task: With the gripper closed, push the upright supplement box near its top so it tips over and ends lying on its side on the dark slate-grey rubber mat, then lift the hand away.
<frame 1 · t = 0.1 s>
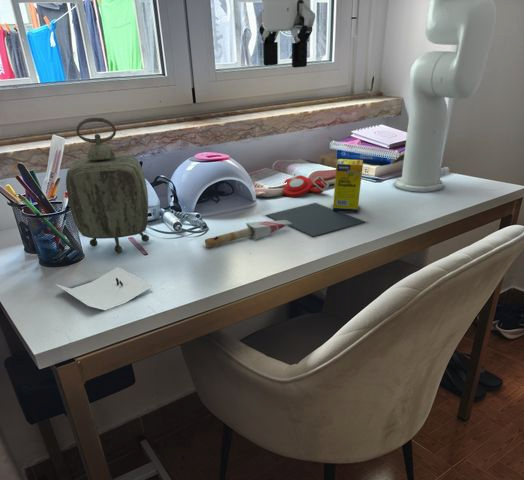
hand: (284, 66, 99), 31 cm above the table, tool pointing down, fingers open, 9 cm apart
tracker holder: (303, 194, 134), on the table
supplement box: (345, 209, 121), on the table, touching mat
mat: (314, 219, 116), on the table
paintbrush: (249, 238, 107), on the table
tabletop clock: (119, 250, 103), on the table
folded paper: (105, 293, 87), on the table
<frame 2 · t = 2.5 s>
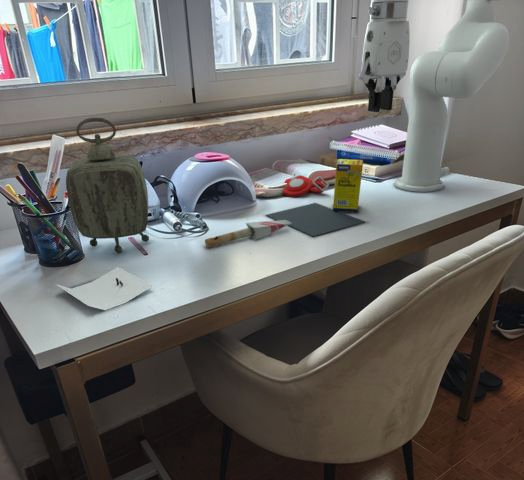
hand: (379, 109, 113), 21 cm above the table, tool pointing down, fingers open, 3 cm apart
nothing on the table moved.
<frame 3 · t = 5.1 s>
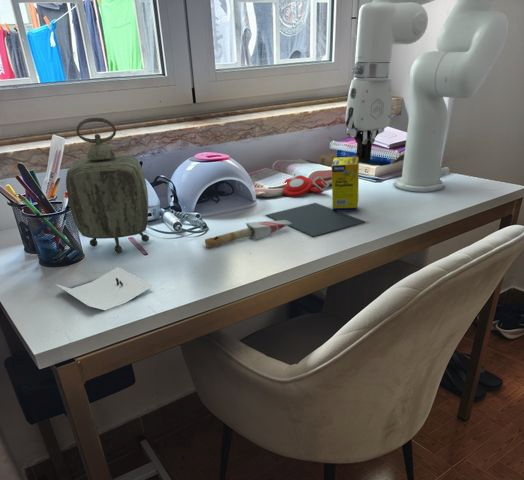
hand: (362, 161, 117), 11 cm above the table, tool pointing down, fingers closed
supplement box: (345, 207, 121), on the table, touching gripper, mat
everything else where it was.
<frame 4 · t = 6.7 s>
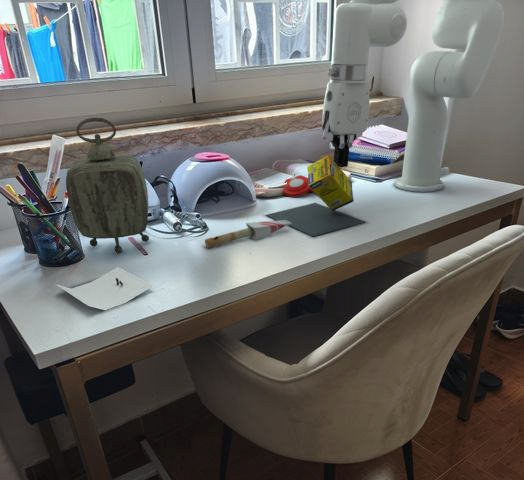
hand: (340, 165, 114), 11 cm above the table, tool pointing down, fingers closed
supplement box: (342, 197, 119), point 3 cm above the table, touching gripper, mat
everything else where it was.
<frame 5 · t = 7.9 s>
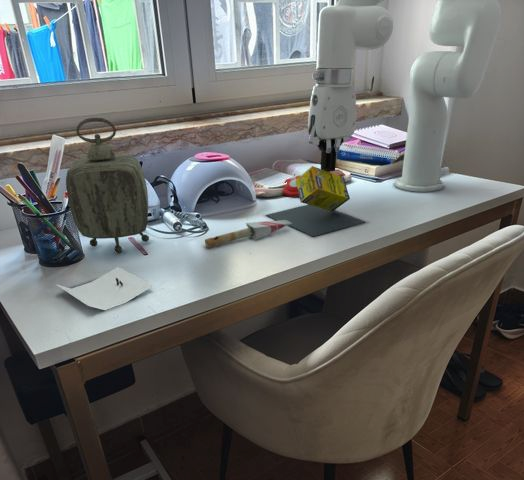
hand: (327, 170, 113), 10 cm above the table, tool pointing down, fingers closed
supplement box: (339, 194, 118), point 4 cm above the table, touching gripper, mat
everything else where it was.
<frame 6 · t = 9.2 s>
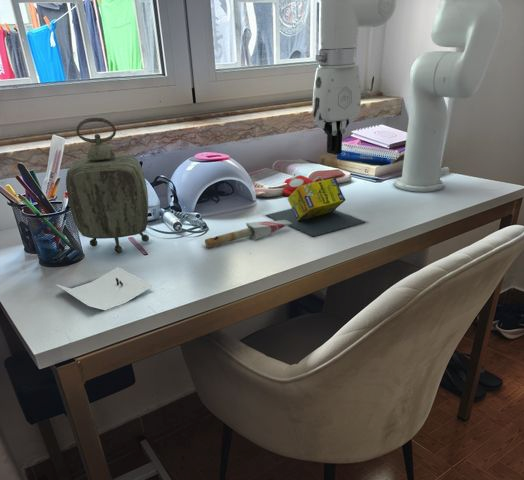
hand: (334, 153, 112), 14 cm above the table, tool pointing down, fingers closed
supplement box: (334, 194, 117), point 4 cm above the table, touching mat
everything else where it was.
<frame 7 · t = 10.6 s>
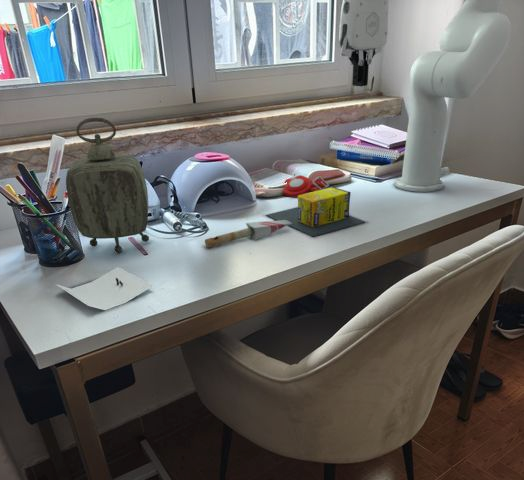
hand: (359, 85, 110), 26 cm above the table, tool pointing down, fingers closed
supplement box: (342, 201, 116), point 3 cm above the table, touching mat
everything else where it was.
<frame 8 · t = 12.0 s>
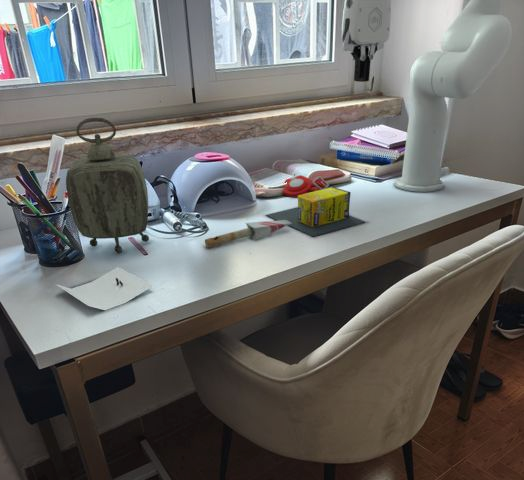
hand: (361, 81, 111), 27 cm above the table, tool pointing down, fingers closed
nothing on the table moved.
at the end: supplement box tilted 90°; supplement box touching mat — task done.
